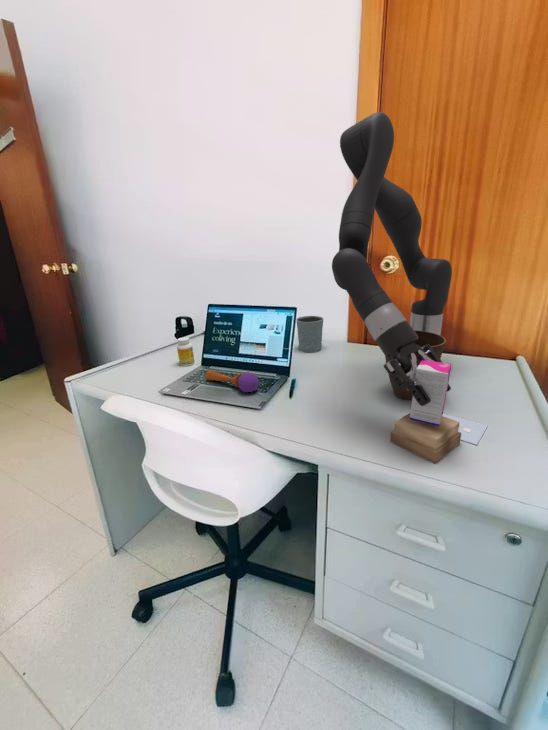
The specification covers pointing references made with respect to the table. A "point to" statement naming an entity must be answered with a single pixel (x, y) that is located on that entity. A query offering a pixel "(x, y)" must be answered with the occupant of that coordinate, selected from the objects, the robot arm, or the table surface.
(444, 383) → the supplement box
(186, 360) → the supplement bottle
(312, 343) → the gray cup
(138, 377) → the table surface
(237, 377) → the kendama
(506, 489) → the table surface
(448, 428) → the base block
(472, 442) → the page
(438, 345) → the plant pot
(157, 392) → the table surface
